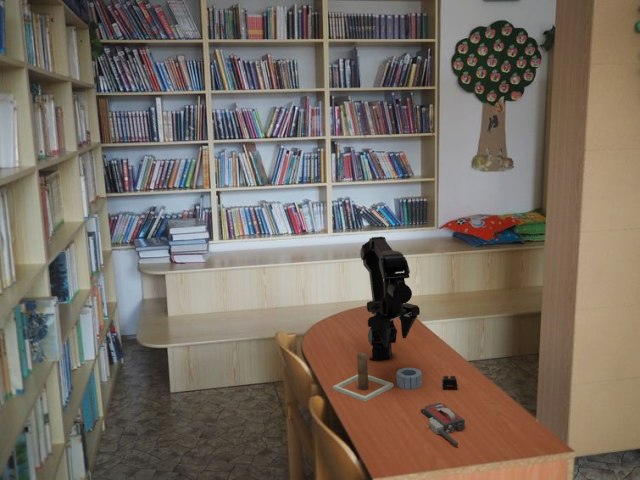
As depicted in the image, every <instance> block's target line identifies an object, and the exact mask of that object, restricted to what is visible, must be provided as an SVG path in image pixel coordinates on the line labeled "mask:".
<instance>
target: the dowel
mask: <svg viewBox="0 0 640 480" xmlns="http://www.w3.org/2000/svg"><path fill="white" fill-rule="evenodd" d="M356 359H357V374H358V380H357V381H358V382H357V384H358V390H360V391H367V390H369V380H368V375H369V371H368V353H366V352H359V353H357V354H356Z"/></svg>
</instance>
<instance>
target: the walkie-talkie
mask: <svg viewBox="0 0 640 480" xmlns="http://www.w3.org/2000/svg"><path fill="white" fill-rule="evenodd" d="M420 412H421V414H422V415H424V416H425V417H426V418H428V421H429V429H430V430H432V431H433V432H434V434H436V435H441V436H443V438H446V439H447V440H448V441H449V442H450V443H452V444H453V445H455V446H458V445H459V442H458V441H456V440H455V439H454V438H453V437H452V436H451V435H449V434H450V433H452V432H455V431H460V432H461V431H463V430H464V429H465V425H466V422H465V419H464V418H463V417H462V416H461V415H459V414H458V413H456V412H455V411H454V410H453V409H451V408H450V407H448V406H447V405H446V404H444V403H442V402H435V403H433V404H428V405H425V406H424V407H423V408H422V409H420Z"/></svg>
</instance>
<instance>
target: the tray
mask: <svg viewBox="0 0 640 480" xmlns="http://www.w3.org/2000/svg"><path fill="white" fill-rule="evenodd" d="M356 381H358V373H357V374H356V375H353V376H351V377H349V378H347V379H345V380H343V381H341V382H339V383H337V384H335V385H333V386H332V390H333V391H336V392H339V393H341V394H343V395H347V396H348V397H352V398H354V399H357V400H359V401H362V402H364V403H365V402H367V401H370V400H372V399H373V398H376V396H378V395H382V394H383V393H384V392H386V391H389V390H390V389H392V388H394V383H393V382H390V381H388V380H384V379H381V378H379V377H376V376H373V375H369V374H368V381H371V382H374V383H377V384H379V385H381V386H382V387H380V388H378V389H376V390H374V391H372V392H370V393H368V394H366V395H363V394H360V393H357V392H355V391H352V390H349V389H346V388H343V387H346V386H348V385H349V384H351V383H354V382H356Z"/></svg>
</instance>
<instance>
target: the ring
mask: <svg viewBox="0 0 640 480" xmlns="http://www.w3.org/2000/svg"><path fill="white" fill-rule="evenodd" d="M422 375H423V374H422V371H421V370H420V369H418V368H414V367H403V368H399V369H398V370H397V371H396V386H397V387H398V388H400V389H403V390H416V389H419V388H421V387H422V385H423V383H422V381H423V380H422V379H423V378H422V377H423V376H422Z"/></svg>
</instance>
